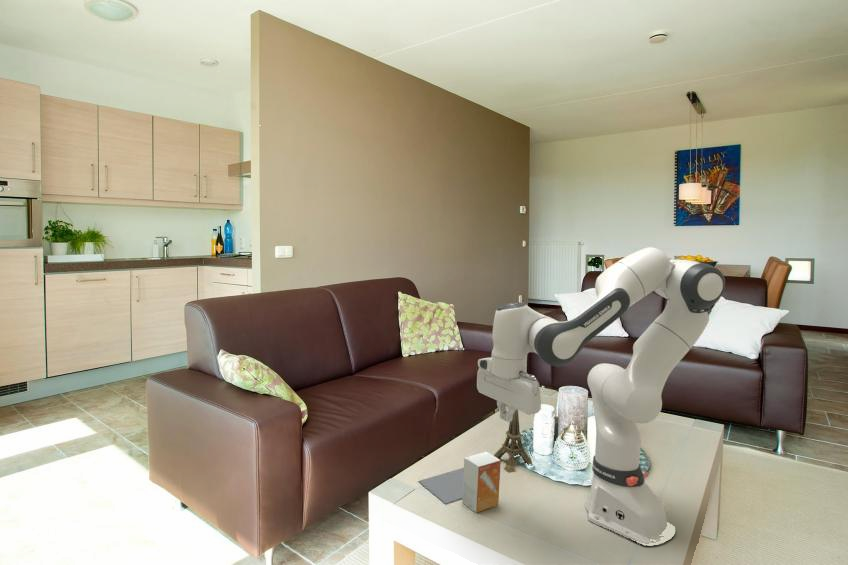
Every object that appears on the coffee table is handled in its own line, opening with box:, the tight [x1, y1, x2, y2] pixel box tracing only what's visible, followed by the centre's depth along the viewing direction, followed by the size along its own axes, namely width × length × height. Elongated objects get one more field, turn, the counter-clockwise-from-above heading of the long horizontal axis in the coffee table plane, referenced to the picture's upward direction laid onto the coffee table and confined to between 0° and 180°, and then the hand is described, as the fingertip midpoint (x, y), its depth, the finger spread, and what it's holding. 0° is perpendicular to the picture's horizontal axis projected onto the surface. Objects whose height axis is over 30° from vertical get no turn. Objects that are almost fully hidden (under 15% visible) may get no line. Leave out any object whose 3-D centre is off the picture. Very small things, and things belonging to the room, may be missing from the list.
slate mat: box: [417, 467, 464, 505], centre depth 144 cm, size 14×19×1 cm
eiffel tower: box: [493, 409, 533, 474], centre depth 158 cm, size 11×11×25 cm
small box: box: [461, 451, 502, 513], centre depth 133 cm, size 8×6×13 cm
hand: (505, 419), depth 124 cm, fingers closed
